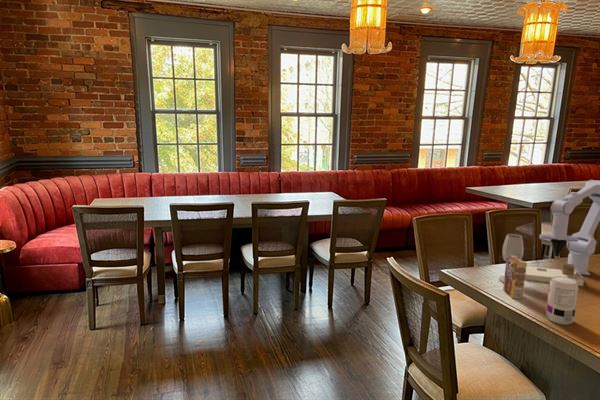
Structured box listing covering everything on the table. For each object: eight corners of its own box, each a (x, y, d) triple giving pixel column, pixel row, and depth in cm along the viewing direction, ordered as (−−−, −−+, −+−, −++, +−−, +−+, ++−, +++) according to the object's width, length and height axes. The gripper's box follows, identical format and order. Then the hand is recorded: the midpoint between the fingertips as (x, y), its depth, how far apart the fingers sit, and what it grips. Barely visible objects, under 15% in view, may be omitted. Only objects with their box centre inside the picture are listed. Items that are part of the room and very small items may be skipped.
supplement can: (540, 317, 142) (545, 277, 139) (555, 313, 145) (560, 274, 142) (563, 327, 134) (568, 286, 132) (578, 322, 138) (584, 282, 135)
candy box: (523, 299, 157) (527, 262, 154) (512, 298, 157) (516, 262, 154) (513, 290, 165) (516, 255, 163) (502, 289, 166) (505, 255, 163)
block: (561, 271, 180) (562, 262, 179) (572, 272, 178) (573, 264, 178) (562, 274, 176) (563, 265, 176) (573, 275, 175) (574, 267, 174)
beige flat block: (518, 270, 188) (519, 263, 187) (574, 276, 180) (575, 269, 180) (523, 279, 177) (523, 272, 176) (583, 286, 169) (584, 278, 169)
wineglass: (499, 283, 172) (504, 237, 169) (498, 276, 180) (502, 232, 177) (522, 286, 169) (527, 239, 165) (519, 279, 177) (524, 234, 173)
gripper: (543, 227, 175) (540, 256, 178) (581, 230, 170) (577, 260, 173) (539, 223, 182) (536, 252, 184) (576, 226, 177) (573, 255, 179)
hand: (556, 255), depth 179 cm, fingers closed
